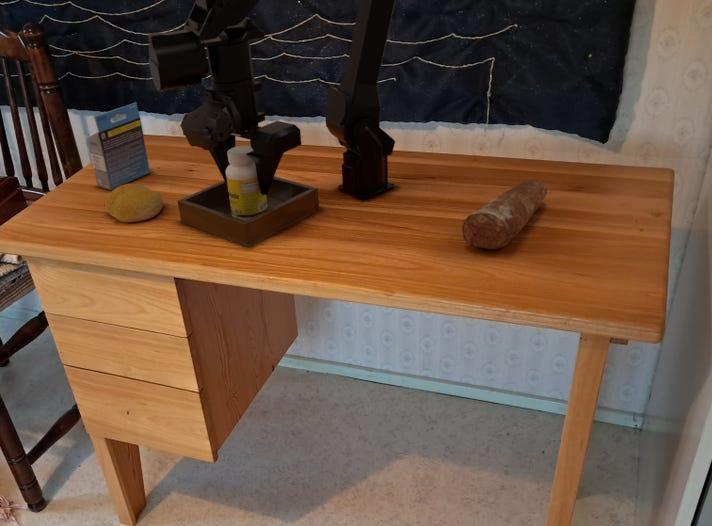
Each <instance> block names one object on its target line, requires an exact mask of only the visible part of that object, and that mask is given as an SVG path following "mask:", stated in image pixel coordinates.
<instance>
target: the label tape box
mask: <svg viewBox="0 0 712 526" xmlns="http://www.w3.org/2000/svg"><path fill="white" fill-rule="evenodd" d="M117 115H118V116H119V117H120V116H124V118H121V119H118V120H115V121H112V119H115V118H116V116H117ZM93 119H94V122H95V125H96V128H97V132H96V133H93V134H92V135H91V136H89V137H87V138H86V142H87V145H88V146H87V147H88V150H89V155H90V158H91V159H90V160H91V163H92V167H93V171H94V176H95V180H96V184H97V186H98V187H100V188H103V189H105V190H109V191H113V190H114V189H115V188H117V187H119V186H121V185H125V184H129V183H131V182H133V181H134V180H137V179H139V178H142V177H144V176H145V175H148V174H150V173H151V169H150V165H149V158H148V153H147V148H146V142H145V136H144V131H143V125H142V120H141V116H140V111H139V108H138V104H137V101H135V102H133V103H130V104H127V105H124V106H121V107H118V108H115V109H112V110H110V111H106V112H103V113H101V114H97V115H94V116H93Z"/></svg>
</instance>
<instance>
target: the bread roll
mask: <svg viewBox="0 0 712 526" xmlns="http://www.w3.org/2000/svg"><path fill="white" fill-rule="evenodd" d="M163 207H164V201H163V198H162V196H161V194H160V193H158V191H155V190H151V189H149V188H148V187H146V186H145V185H142V184H139V183H126V184H124V185H121V186H119V187H117V188H115V189H113V190H111V191H110V193H109V194H108V196H107V197H106V199H105V202H104V208H105V210H106V212H107V213H108V214H109V215H110V216H111V217H113V218H116V220H117V221H119V222H121V223H136V222H142V221H145V220H149V219H152V218H153V217H155V216H156V215H158V214H159V213H160V212H161V210H162V209H163Z"/></svg>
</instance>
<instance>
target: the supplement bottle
mask: <svg viewBox="0 0 712 526" xmlns="http://www.w3.org/2000/svg"><path fill="white" fill-rule="evenodd" d="M251 151H253V149H252V148H251V145H238V146H235V147H234V148H231V149H230V150H228V152H227V154H228V160H229V163H230V165H229V166H228V167H227V168H226V179H227V186H228V192H229V198H230V205H231V212H232V216H233V217H236V218H239V219H242V220H245V221H246V220H248V219H250V218H253V217H255V216H257V215H259V214H261V213H263V212H265V211H267V210H268V206H267V198H266V195H261V192H260V188H259V184H258V178H257V173H256V167H255V162H254V161H253V160H252V159H251V158H250V157H249V156H247V153H249V152H251Z"/></svg>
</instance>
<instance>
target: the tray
mask: <svg viewBox="0 0 712 526" xmlns="http://www.w3.org/2000/svg"><path fill="white" fill-rule="evenodd" d="M266 198H267V206H268V210H267V211H265V212H263V213H261V214H259V215H257V216H255V217H253V218H250V219H248V220H246V221H245V220H242V219H239V218H236V217H233V216H232V212H231V205H230V198H229V192H228V186H227V184H226V183H225V181H224V180H222V181H219V182H217V183H214V184H213V185H210V186H208V187H205V188H203V189H201V190H199V191H196V192H194V193H192V194H190V195H187V196H185V197H183V198H181V199H177V207H178V212H179V219H180V223H181V224H184V225H186V226H188V227H192V228H194V229H197V230H200V231H203V232H205V233H208V234H211V235H213V236H216V237H219V238H222V239H225V240H228V241H229V242H232V243H236V244H239V245H240V246H244V247H247V248H250V247H252V246H254V245H256V244H258V243H260V242H261V241H262V242H263V241H264V240H265V239H266V240H267V239H268V238H270V237H271V236H273V235H276V234H277V233H279V232H281V231H283V230H285V229H286V228H288V227H291V226H293V225H294V224H296V223H298V222H300V221H302V220H304V219H306V218H308V217H310V216H312V215H314V214H316V213H317V212H320V201H319V189H318V187H315V186H311V185H308V184H305V183H300V182H296V181H294V180H289V179H286V178H282V177H278V176H275V175H274V178H273V181H272V184H271V187H270V189H269V192H268V194H266Z"/></svg>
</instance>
